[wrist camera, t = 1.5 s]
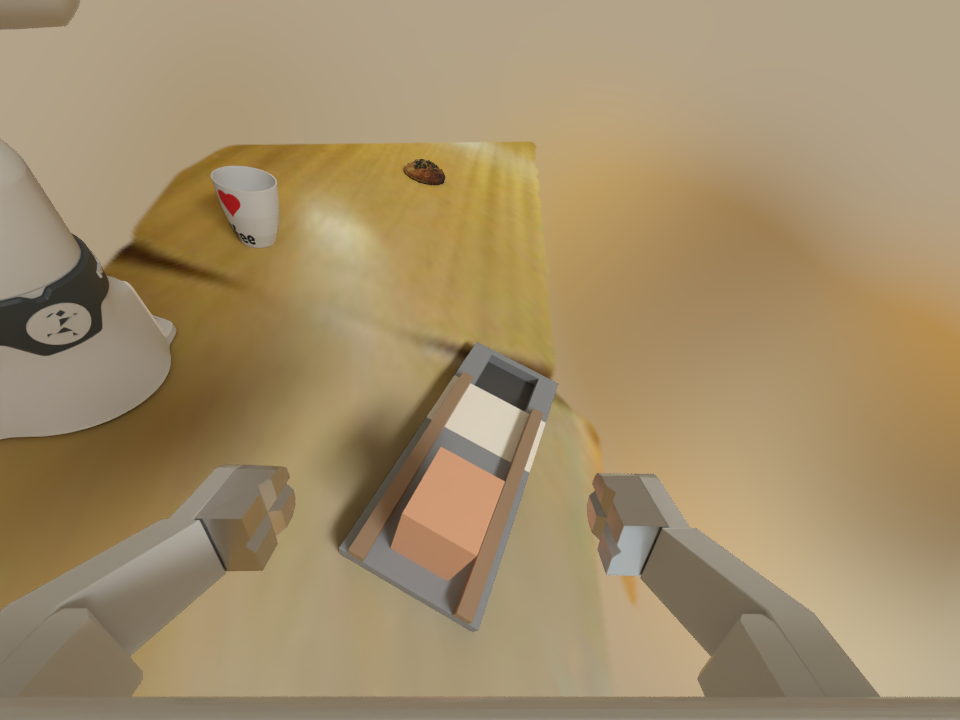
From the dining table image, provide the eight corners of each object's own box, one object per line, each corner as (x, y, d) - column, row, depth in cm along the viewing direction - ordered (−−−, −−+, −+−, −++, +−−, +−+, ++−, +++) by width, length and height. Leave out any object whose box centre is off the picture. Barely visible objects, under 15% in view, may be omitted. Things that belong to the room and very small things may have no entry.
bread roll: (445, 189, 91) (446, 169, 87) (403, 185, 89) (403, 164, 85) (444, 174, 98) (445, 155, 95) (405, 170, 96) (404, 151, 93)
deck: (339, 553, 31) (338, 543, 29) (473, 350, 54) (479, 335, 51) (472, 631, 30) (483, 628, 28) (552, 391, 53) (562, 377, 50)
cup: (220, 230, 56) (201, 166, 49) (272, 223, 61) (262, 164, 54) (241, 257, 53) (224, 194, 46) (294, 248, 58) (286, 189, 51)
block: (390, 548, 31) (402, 513, 24) (422, 490, 35) (440, 446, 28) (447, 581, 31) (477, 555, 23) (473, 519, 35) (505, 481, 28)
